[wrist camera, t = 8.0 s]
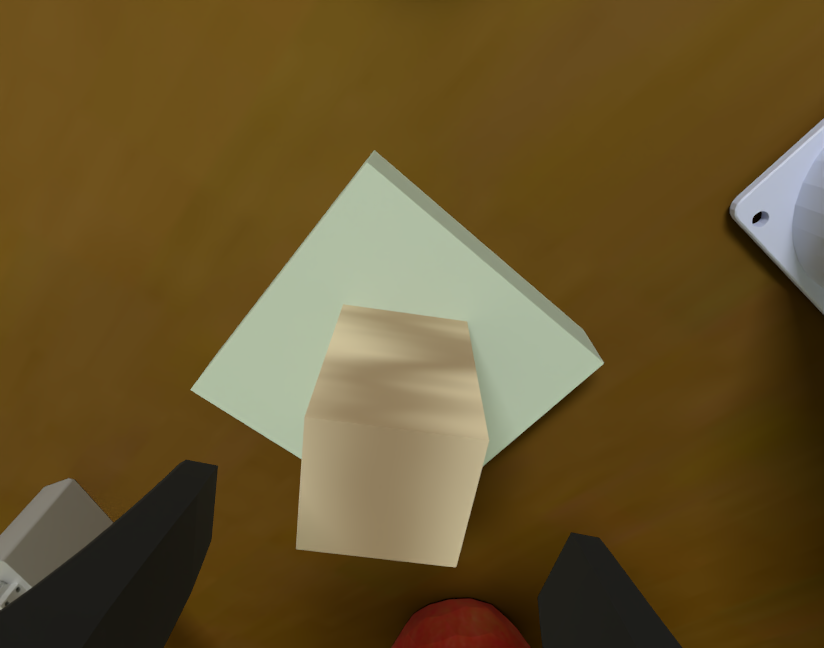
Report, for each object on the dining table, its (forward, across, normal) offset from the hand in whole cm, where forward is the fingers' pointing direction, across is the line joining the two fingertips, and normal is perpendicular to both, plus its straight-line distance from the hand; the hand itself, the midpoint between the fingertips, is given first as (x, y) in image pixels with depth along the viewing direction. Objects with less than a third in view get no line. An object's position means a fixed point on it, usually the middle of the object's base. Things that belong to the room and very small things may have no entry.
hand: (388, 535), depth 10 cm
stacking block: (+10, 0, +1) cm, 11 cm away
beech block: (+8, 0, 0) cm, 8 cm away
